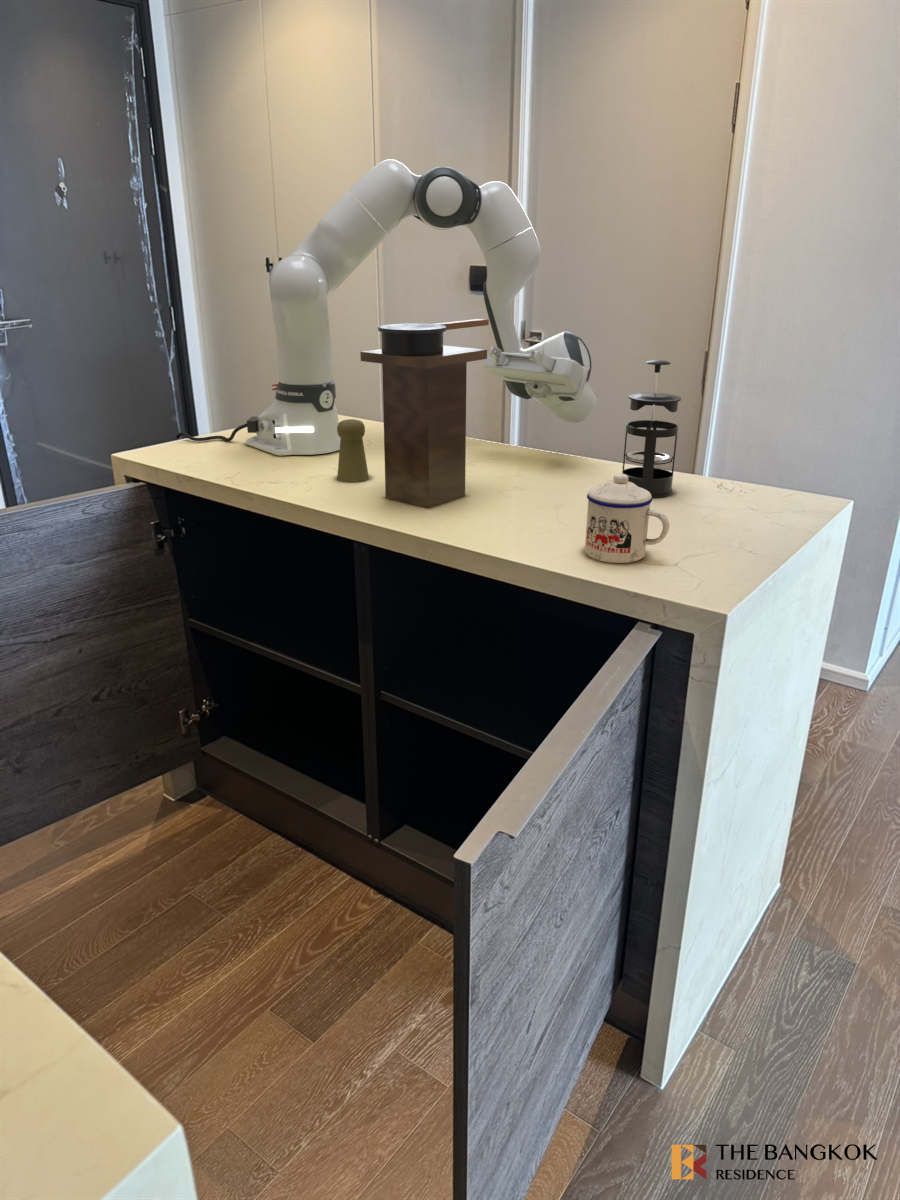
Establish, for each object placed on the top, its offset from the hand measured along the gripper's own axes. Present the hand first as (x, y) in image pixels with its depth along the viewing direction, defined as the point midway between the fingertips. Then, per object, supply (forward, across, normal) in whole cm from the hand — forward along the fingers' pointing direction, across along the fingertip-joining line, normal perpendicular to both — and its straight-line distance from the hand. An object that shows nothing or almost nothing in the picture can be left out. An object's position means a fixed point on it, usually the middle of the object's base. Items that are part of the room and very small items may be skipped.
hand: (512, 352), depth 162 cm
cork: (+11, -19, +32) cm, 38 cm away
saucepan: (+20, 0, +8) cm, 21 cm away
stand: (+12, 0, +32) cm, 34 cm away
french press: (-14, +28, +18) cm, 36 cm away
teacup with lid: (+15, +42, +34) cm, 56 cm away
